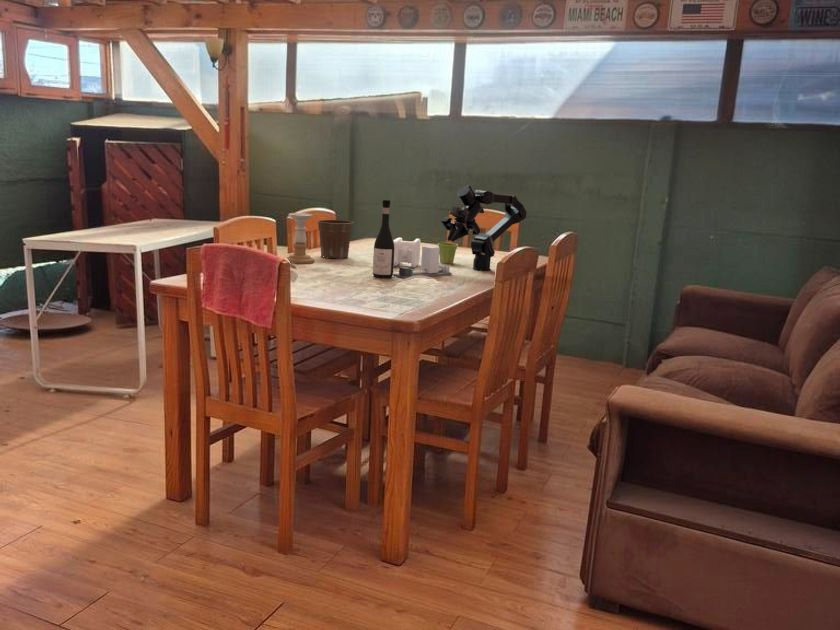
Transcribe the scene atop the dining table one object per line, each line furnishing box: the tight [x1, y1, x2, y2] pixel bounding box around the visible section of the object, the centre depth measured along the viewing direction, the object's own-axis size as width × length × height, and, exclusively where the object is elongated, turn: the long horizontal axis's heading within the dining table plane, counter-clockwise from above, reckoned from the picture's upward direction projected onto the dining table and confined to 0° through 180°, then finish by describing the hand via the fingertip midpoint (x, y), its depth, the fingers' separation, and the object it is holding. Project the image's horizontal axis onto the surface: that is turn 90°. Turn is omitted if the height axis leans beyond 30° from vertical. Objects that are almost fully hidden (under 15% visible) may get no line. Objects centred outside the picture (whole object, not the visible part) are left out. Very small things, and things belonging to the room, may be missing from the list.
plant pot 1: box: [316, 219, 355, 259], centre depth 325 cm, size 16×16×16 cm
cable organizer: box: [393, 237, 422, 269], centre depth 313 cm, size 15×11×12 cm
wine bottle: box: [372, 199, 395, 279], centre depth 281 cm, size 8×8×30 cm
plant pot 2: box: [437, 242, 459, 265], centre depth 329 cm, size 9×9×9 cm
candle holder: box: [285, 212, 315, 264], centre depth 306 cm, size 12×12×20 cm
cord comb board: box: [392, 264, 453, 280], centre depth 292 cm, size 25×8×4 cm, turn 133°
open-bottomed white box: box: [420, 245, 440, 274], centre depth 294 cm, size 5×5×10 cm
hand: (449, 240), depth 299 cm, fingers closed
